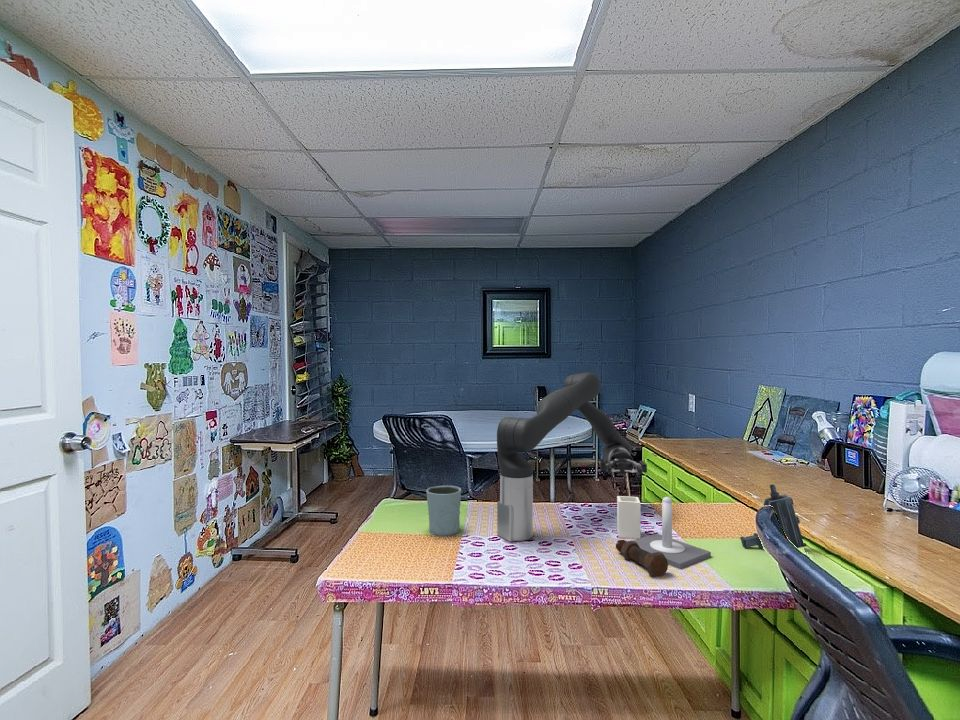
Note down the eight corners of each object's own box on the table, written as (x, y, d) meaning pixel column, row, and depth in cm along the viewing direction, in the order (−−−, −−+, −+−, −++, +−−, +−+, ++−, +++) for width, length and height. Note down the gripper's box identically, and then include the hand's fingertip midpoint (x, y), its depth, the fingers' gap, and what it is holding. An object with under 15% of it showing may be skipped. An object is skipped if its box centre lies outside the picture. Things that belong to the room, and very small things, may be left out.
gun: (727, 493, 132) (784, 480, 130) (744, 554, 131) (801, 542, 130) (731, 496, 129) (789, 482, 128) (748, 558, 129) (807, 546, 127)
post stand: (679, 568, 117) (679, 509, 117) (625, 547, 130) (625, 493, 130) (710, 556, 124) (710, 500, 124) (656, 537, 137) (656, 486, 137)
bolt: (623, 559, 127) (662, 582, 113) (608, 551, 126) (645, 573, 112) (632, 538, 128) (671, 558, 114) (617, 530, 127) (655, 549, 113)
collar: (640, 538, 136) (640, 502, 136) (618, 537, 137) (618, 501, 137) (637, 531, 142) (637, 497, 142) (617, 530, 143) (617, 495, 143)
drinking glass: (452, 538, 136) (452, 495, 136) (420, 534, 140) (420, 492, 140) (466, 527, 146) (466, 486, 146) (435, 523, 149) (435, 483, 149)
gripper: (598, 448, 168) (601, 458, 152) (642, 449, 165) (649, 459, 149) (598, 470, 168) (601, 482, 152) (642, 471, 165) (649, 484, 149)
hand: (625, 471), depth 151 cm, fingers open, 8 cm apart
